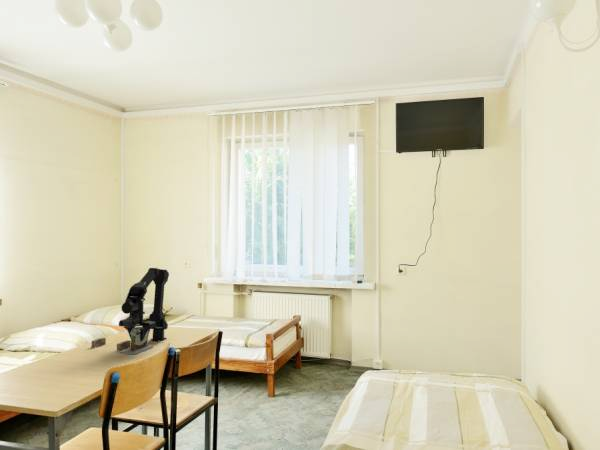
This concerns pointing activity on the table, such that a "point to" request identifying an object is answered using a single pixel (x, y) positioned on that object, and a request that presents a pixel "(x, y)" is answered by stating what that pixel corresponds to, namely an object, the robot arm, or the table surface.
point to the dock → (119, 346)
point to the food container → (138, 339)
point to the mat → (129, 351)
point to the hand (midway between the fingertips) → (136, 340)
